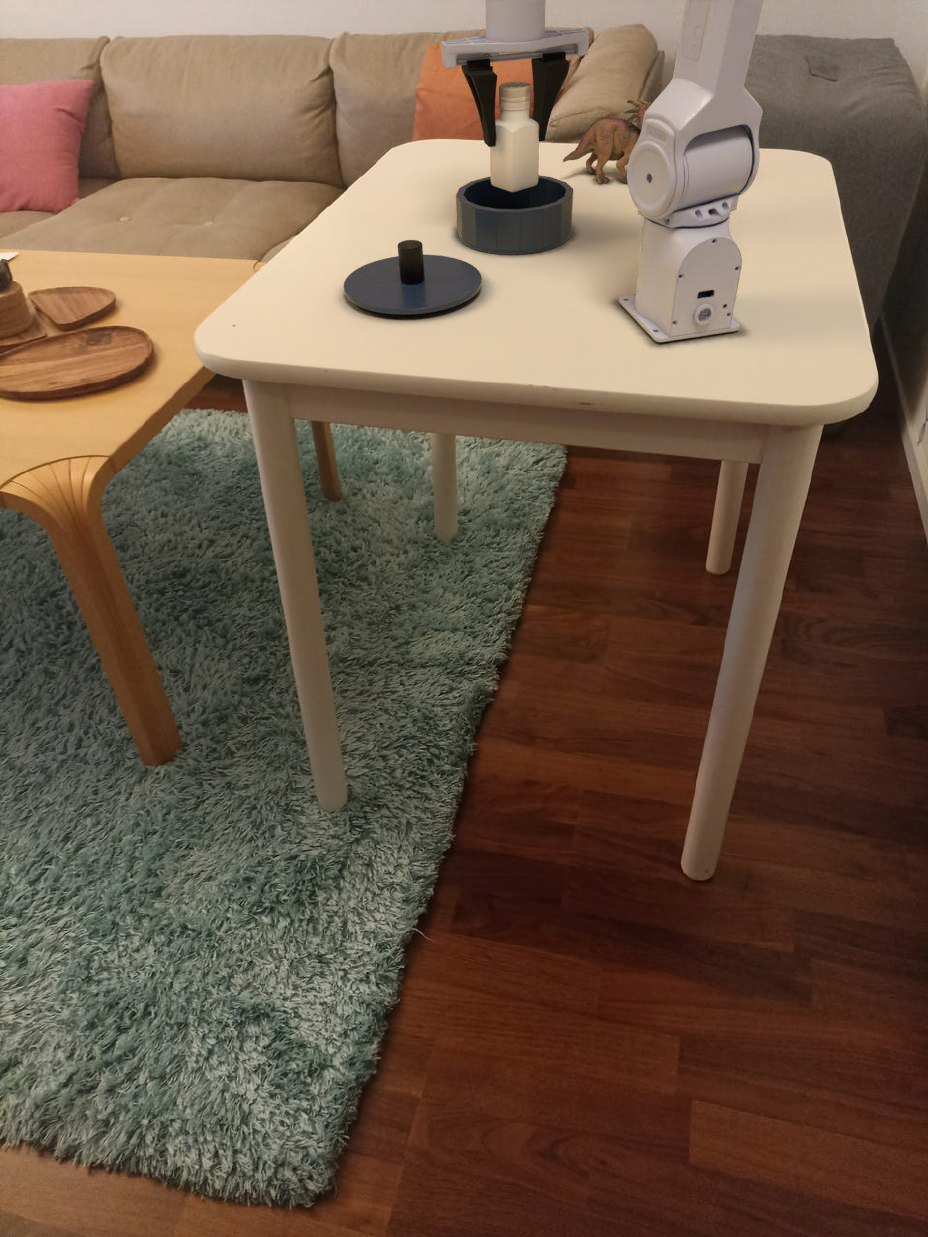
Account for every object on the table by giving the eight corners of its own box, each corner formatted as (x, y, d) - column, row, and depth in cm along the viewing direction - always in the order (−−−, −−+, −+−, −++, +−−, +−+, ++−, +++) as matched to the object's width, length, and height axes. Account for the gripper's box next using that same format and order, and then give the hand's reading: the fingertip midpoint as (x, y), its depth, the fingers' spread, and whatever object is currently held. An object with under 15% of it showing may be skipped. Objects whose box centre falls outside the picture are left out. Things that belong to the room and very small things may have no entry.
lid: (497, 309, 82) (497, 260, 78) (356, 329, 80) (349, 279, 76) (463, 257, 91) (461, 212, 88) (336, 274, 89) (330, 228, 86)
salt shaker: (516, 178, 95) (516, 78, 88) (540, 186, 92) (542, 84, 86) (488, 186, 93) (486, 85, 86) (512, 194, 90) (512, 91, 84)
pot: (586, 246, 93) (589, 202, 90) (474, 260, 91) (473, 217, 88) (550, 209, 102) (551, 168, 99) (447, 221, 100) (445, 181, 97)
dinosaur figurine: (669, 169, 111) (679, 87, 104) (671, 184, 107) (682, 99, 100) (563, 169, 112) (567, 88, 106) (561, 183, 108) (564, 100, 102)
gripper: (574, -31, 84) (568, 124, 93) (431, -19, 82) (439, 138, 91) (600, -22, 79) (590, 141, 88) (447, -9, 77) (454, 156, 86)
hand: (514, 141), depth 90 cm, fingers closed on salt shaker, 5 cm apart
